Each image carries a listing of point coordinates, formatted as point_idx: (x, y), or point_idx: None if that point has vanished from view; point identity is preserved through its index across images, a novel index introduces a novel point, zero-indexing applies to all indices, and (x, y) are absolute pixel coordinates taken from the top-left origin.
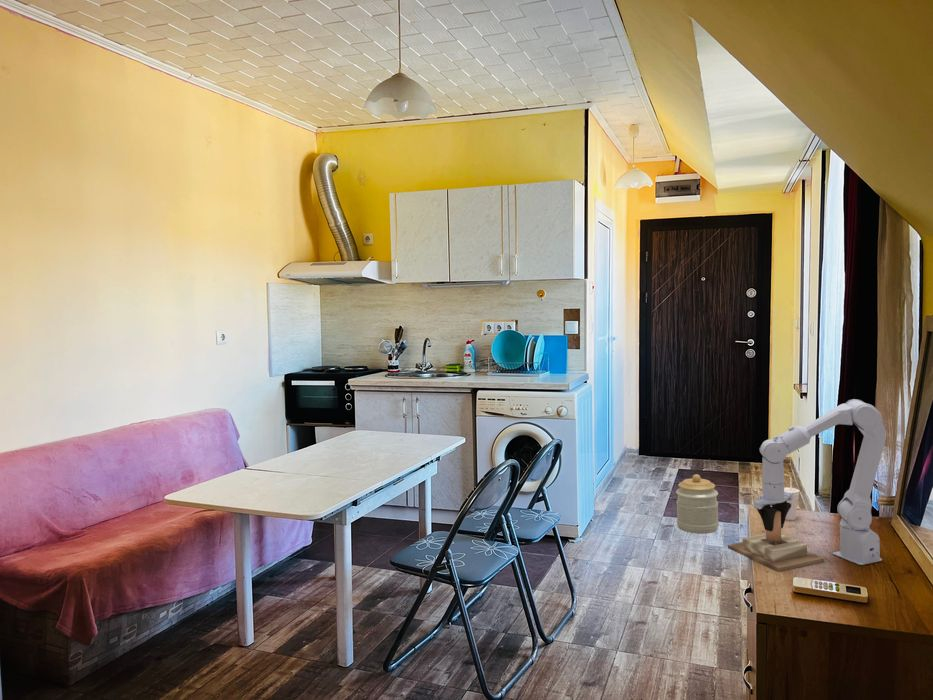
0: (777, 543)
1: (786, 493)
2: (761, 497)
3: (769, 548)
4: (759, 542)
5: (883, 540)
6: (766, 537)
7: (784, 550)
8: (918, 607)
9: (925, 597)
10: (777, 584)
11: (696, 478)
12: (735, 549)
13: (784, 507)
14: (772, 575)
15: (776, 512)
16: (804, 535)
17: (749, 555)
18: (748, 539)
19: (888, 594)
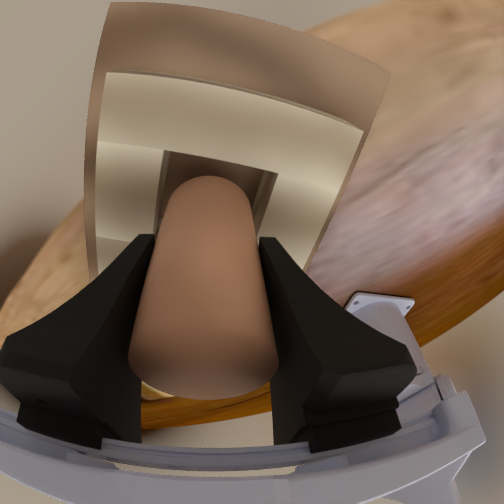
0: (266, 180)
1: (472, 441)
2: (54, 496)
3: (107, 254)
4: (125, 178)
5: (485, 292)
6: (171, 197)
7: None
8: (197, 421)
9: (239, 417)
10: (47, 311)
11: None
12: (98, 56)
13: (276, 432)
14: (63, 281)
15: (198, 389)
16: (479, 155)
17: (86, 150)
18: (113, 109)
19: (205, 404)
